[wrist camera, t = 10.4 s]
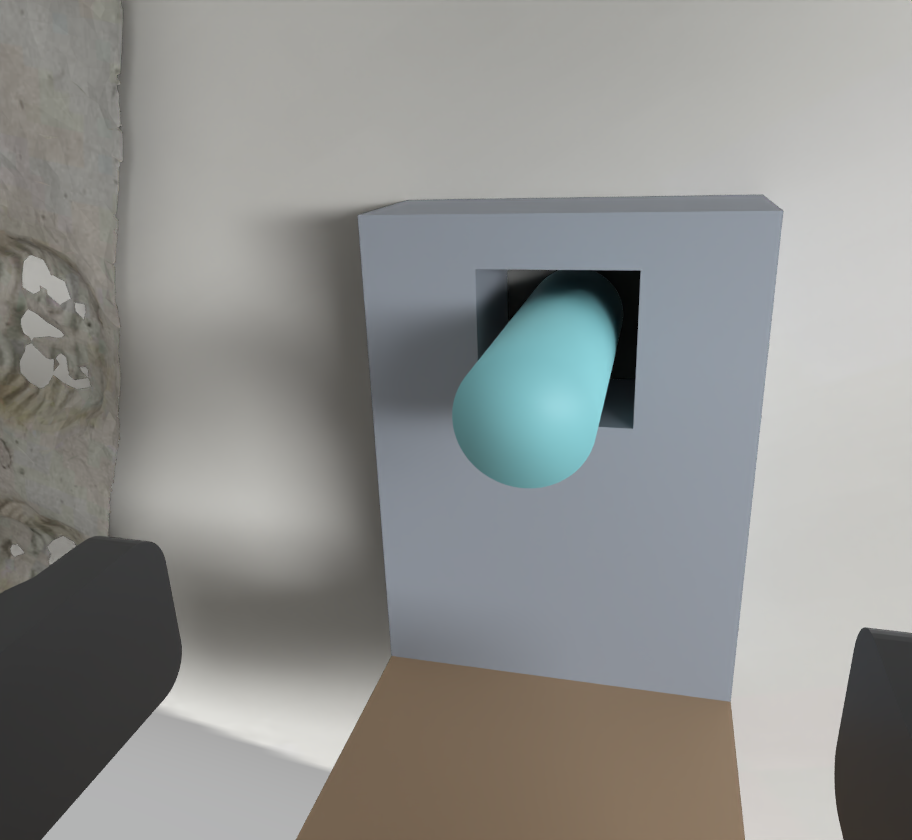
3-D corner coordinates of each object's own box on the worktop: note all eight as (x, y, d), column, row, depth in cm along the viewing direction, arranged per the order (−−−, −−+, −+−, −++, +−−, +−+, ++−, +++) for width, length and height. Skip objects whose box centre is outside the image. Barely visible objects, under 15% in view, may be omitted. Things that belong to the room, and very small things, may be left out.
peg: (528, 267, 28) (449, 348, 18) (625, 267, 27) (599, 353, 17) (528, 359, 29) (454, 482, 19) (621, 362, 28) (595, 493, 18)
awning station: (381, 200, 28) (-300, 386, 8) (796, 194, 25) (1299, 482, 5) (409, 620, 35) (57, 1296, 15) (743, 661, 31) (874, 1614, 11)
